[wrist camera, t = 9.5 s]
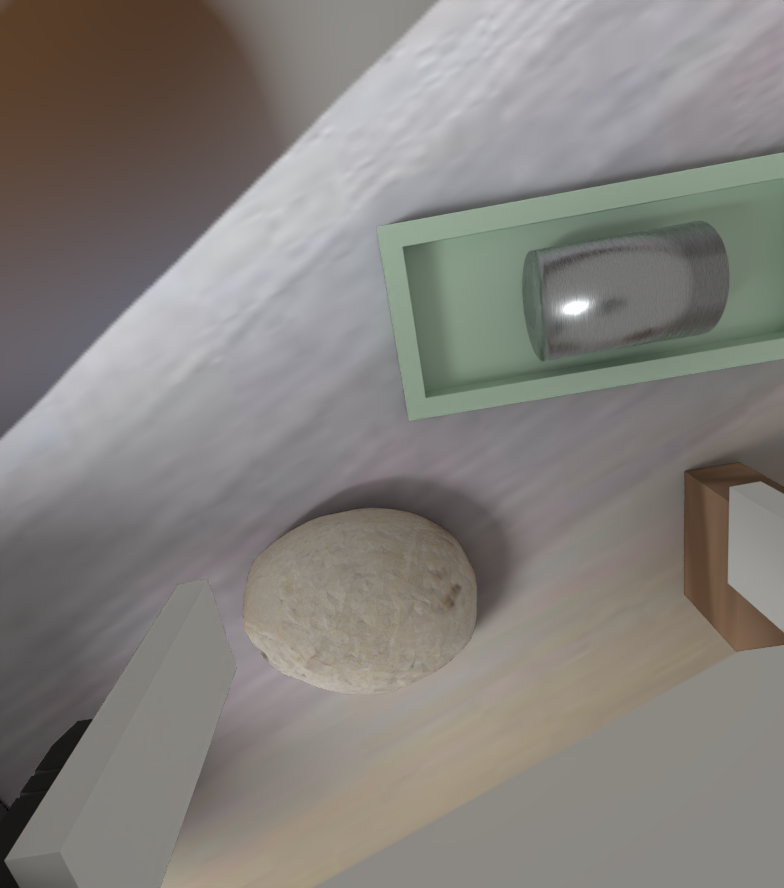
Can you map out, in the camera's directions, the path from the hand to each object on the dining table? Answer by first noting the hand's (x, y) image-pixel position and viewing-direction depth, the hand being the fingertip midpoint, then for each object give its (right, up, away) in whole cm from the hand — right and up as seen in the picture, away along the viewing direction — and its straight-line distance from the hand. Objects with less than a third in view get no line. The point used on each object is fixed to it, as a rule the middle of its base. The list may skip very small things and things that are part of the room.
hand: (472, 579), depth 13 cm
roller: (+8, +11, +12) cm, 18 cm away
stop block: (+16, -2, +17) cm, 24 cm away
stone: (-4, -5, +18) cm, 19 cm away
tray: (+8, +11, +13) cm, 19 cm away
